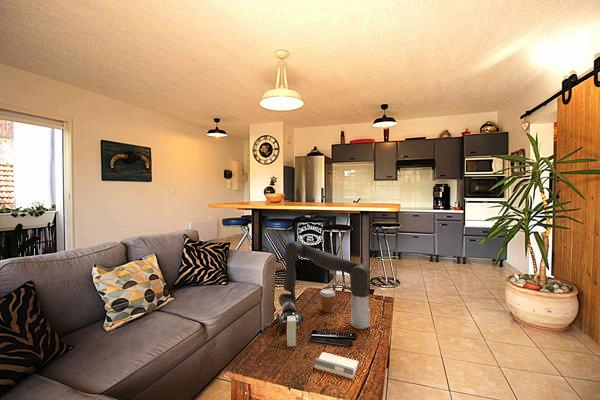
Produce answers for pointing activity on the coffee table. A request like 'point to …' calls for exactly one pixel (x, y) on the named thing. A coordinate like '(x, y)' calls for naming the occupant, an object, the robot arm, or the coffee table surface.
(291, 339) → the tea box
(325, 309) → the disposable coffee cup
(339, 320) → the coffee table surface
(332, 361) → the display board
